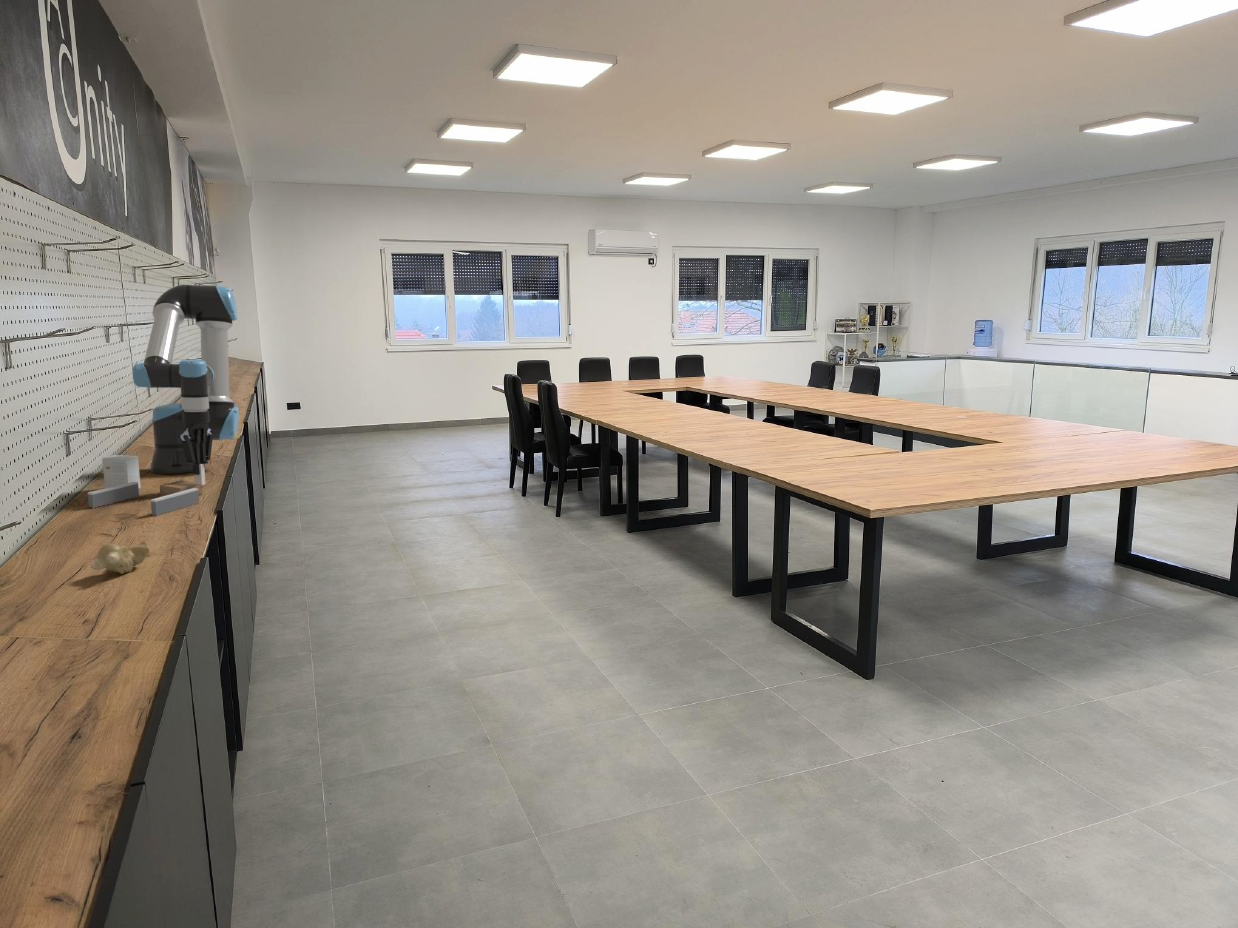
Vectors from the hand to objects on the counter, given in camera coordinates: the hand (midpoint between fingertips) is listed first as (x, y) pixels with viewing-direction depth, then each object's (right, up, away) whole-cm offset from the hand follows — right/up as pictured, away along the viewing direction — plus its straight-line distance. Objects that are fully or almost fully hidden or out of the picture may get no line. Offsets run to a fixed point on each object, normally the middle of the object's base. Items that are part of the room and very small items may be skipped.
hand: (200, 484), depth 254 cm
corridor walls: (-5, -6, -20) cm, 22 cm away
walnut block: (-2, -4, -7) cm, 9 cm away
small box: (-23, -2, -3) cm, 23 cm away
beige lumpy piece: (+22, -18, -76) cm, 81 cm away
